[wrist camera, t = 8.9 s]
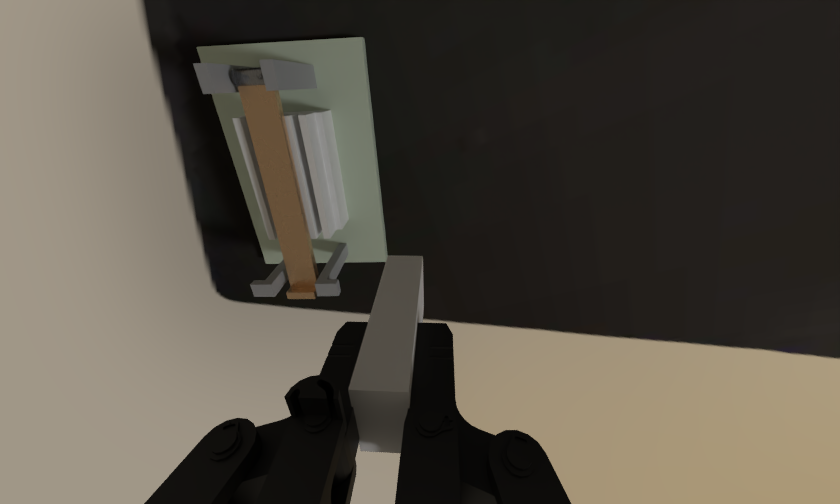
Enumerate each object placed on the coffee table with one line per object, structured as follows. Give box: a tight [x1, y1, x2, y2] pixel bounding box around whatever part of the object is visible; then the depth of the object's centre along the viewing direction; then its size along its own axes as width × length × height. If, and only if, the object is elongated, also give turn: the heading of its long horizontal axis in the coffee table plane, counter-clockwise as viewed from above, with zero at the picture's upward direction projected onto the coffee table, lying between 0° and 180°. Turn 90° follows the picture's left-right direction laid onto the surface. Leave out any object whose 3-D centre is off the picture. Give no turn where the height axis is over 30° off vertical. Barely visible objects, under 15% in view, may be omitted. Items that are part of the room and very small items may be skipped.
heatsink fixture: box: [193, 37, 388, 297], centre depth 32 cm, size 24×16×10 cm, turn 3°
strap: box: [231, 67, 319, 299], centre depth 30 cm, size 22×3×2 cm, turn 3°
